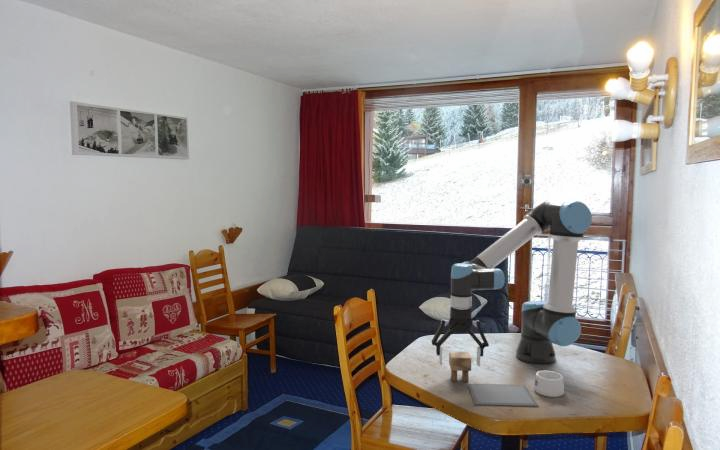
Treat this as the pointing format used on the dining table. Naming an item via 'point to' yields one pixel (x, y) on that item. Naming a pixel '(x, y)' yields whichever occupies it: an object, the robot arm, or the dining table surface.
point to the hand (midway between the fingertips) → (459, 364)
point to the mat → (501, 395)
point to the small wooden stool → (459, 364)
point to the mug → (549, 383)
